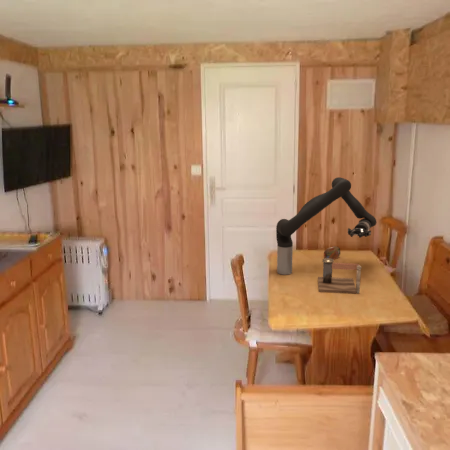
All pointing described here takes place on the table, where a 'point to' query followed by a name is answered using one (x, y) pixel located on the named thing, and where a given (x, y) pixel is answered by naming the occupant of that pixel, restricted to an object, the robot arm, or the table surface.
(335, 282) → the base
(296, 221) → the robot arm
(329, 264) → the capstan
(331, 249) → the tin
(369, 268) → the table surface
